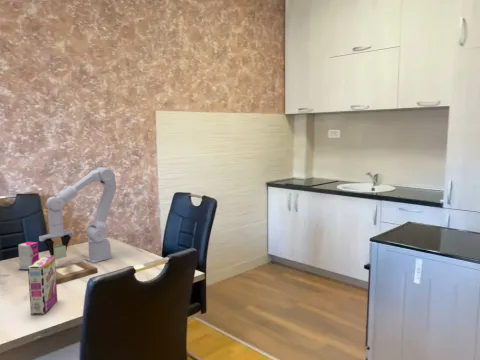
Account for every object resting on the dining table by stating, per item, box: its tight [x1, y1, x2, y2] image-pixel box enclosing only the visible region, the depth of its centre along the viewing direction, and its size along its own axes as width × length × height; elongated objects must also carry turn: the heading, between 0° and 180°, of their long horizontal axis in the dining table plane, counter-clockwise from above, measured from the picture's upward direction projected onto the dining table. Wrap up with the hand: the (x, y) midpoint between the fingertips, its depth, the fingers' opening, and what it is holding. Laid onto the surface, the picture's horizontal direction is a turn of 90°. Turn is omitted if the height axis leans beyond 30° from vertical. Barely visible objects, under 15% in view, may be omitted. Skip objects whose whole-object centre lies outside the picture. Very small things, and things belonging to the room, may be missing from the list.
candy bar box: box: [27, 256, 58, 315], centre depth 135 cm, size 11×5×16 cm, turn 5°
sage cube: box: [49, 243, 68, 261], centre depth 175 cm, size 5×5×5 cm
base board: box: [55, 261, 99, 286], centre depth 167 cm, size 18×14×2 cm
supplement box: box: [17, 241, 40, 271], centre depth 175 cm, size 6×6×12 cm
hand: (58, 253), depth 175 cm, fingers closed on sage cube, 5 cm apart
